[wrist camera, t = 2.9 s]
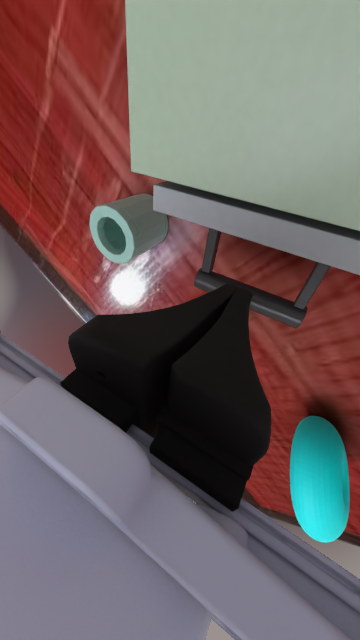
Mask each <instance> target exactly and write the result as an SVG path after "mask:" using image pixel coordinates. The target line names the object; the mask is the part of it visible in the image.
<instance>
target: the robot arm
mask: <svg viewBox="0 0 360 640" xmlns="http://www.w3.org/2000/svg"><path fill="white" fill-rule="evenodd" d="M252 298H253V294H252V292H250V291H247V290H244V289H242V288H239V287H237V286H234V285H231V284H229V283H227V284H225V285H223V286H221V287H219V288H217V289H215V290H213V291H211V292H209V293H207V294H205V295H202V296H200V297H198V298H196V299H193V300H191V301H188V302H185V303H183V304H180V305H176V306H173V307H169V308H165V309H160V310H155V311H149V312H143V313H134V314H120V315H97V316H96V317H94V318H93V319H92V320H90V321H89V322H87V323H86V324H85V325H83V326H82V327H81V328H79V329H78V330H76V331H75V332H74V333H72V334H71V335H70V336H69V343H68V344H69V348H70V352H71V354H72V357H73V360H74V363H75V366H76V369H75V370H74V371H73V372H72V373H71V374H70V375H68V376H67V377H66V378H65V377H63V376H62V375H60V374H59V373H57V372H56V371H55V370H53V369H52V368H50V367H49V366H47V365H46V364H44V363H43V362H41V361H40V360H38V359H37V358H36V357H34V356H33V355H31V354H29V353H28V352H27V351H25V350H24V349H22V348H21V347H19V346H18V345H17V344H15V343H13V342H12V341H11V340H9V339H8V338H6V337H5V336H3V335H2V334H0V640H206V636H207V633H208V629H209V625H210V622H211V619H212V620H213V621H215V622H216V623H217V624H218V625H219V626H220V627H221V628H223V629H224V630H225V631H226V632H227V633H228V634H229V635H231V636H232V637H233V638H234V639H235V640H360V579H358V578H357V577H355V576H354V575H353V574H351V573H350V572H348V571H347V570H345V569H344V568H342V567H341V566H340V565H338V564H337V563H335V562H334V561H332V560H331V559H329V558H328V557H326V556H325V555H323V554H322V553H321V552H319V551H318V550H316V549H315V548H313V547H312V546H310V545H309V544H307V543H306V542H304V541H303V540H301V539H300V538H299V537H297V536H296V535H294V534H292V533H291V532H290V531H288V530H287V529H285V528H284V527H283V526H281V525H280V524H278V523H276V522H275V521H274V520H272V519H271V518H269V517H268V516H266V515H265V514H264V513H262V512H261V511H259V510H258V509H256V508H255V507H253V506H252V505H250V504H249V503H247V502H246V501H245V500H243V499H242V495H243V492H244V488H245V485H246V482H247V480H249V478H250V476H251V472H252V469H253V465H254V464H255V463H256V462H257V461H259V460H260V459H261V458H262V457H263V456H264V455H265V454H266V452H267V450H268V447H269V443H270V434H271V407H270V405H269V403H268V400H267V398H266V396H265V394H264V391H263V389H262V386H261V383H260V381H259V378H258V375H257V372H256V368H255V364H254V361H253V357H252V352H251V347H250V340H249V327H248V319H249V307H250V303H251V300H252ZM187 496H188V497H187ZM191 499H192V500H193V501H194V502H196V504H195V503H194V502H193V501H192V500H191Z"/></svg>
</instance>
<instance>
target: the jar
mask: <svg viewBox="0 0 360 640" xmlns="http://www.w3.org/2000/svg"><path fill="white" fill-rule="evenodd" d="M89 225H90V229H91V234H92V237H93V240H94V242H95V244H96V246H97V247H98V249H99V250H100V251H101V252H102V253H103V255H104V256H105V257H106V258H107V259H109V260H111V261H113V262H114V263H123V264H124V263H127V262H129V261H130V260H132V259H134V258H135V257H137V256H139V255H141V254H142V253H144V252H146V251H147V250H149V249H151V248H153V247H154V246H156V245H157V244H159V243H160V242H162V241H163V240H164V239H165V237H166V235H167V232H168V218H167V214H164V213H160V212H157V211H154V210H153V196H151V195H149V194H145V193H144V194H138V195H133V196H130V197H127V198H123V199H120V200H116V201H113V202H110V203H106V204H103V205H99V206H97V207H96V208H95V209H94V210H93V211H92V213H91V215H90V224H89Z"/></svg>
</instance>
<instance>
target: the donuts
mask: <svg viewBox="0 0 360 640" xmlns="http://www.w3.org/2000/svg"><path fill="white" fill-rule="evenodd" d="M290 488H291V496H292V503H293V508H294V511H295V514H296V518H297V520H298V522H299V523H300V525H301V527H302V529H303V530H304V531H305V532H306V533H307V534H308V535H309V536H310V537H312V538H313V539H315V540H317V541H320V542H331V541H334V540H336V539H337V538H338V537H339V536H340V535H341V534H342V532H343V531H344V529H345V527H346V524H347V520H348V514H349V497H350V496H349V473H348V463H347V456H346V451H345V447H344V444H343V441H342V438H341V436H340V435H339V433H338V431H337V430H336V428H335V427H334V426H333V425H332V424H331V423H330V422H329V421H327V420H326V419H324V418H322V417H319V416H308V417H305V418H304V419H302V420H301V421H300V423H299V424H298V426H297V428H296V431H295V434H294V438H293V442H292V449H291V457H290Z"/></svg>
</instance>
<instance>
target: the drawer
mask: <svg viewBox="0 0 360 640" xmlns="http://www.w3.org/2000/svg"><path fill="white" fill-rule="evenodd" d="M153 210H154V211H157V212H160V213H164V214H167V215H170V216H173V217H176V218H180V219H183V220H186V221H189V222H192V223H195V224H199V225H202V226H205V227H208V228H209V233H208V239H207V244H206V249H205V254H204V260H203V265H202V268H200V270H199V271H198V273H197V274H196V277H195V280H194V286H195V287H197V288H199V289H202V290H204V291H206V292H211V291H213V290H215V289H217V288H219V287H221V286H223V285H225V284H227V283H229V284H231V285H234V286H237V287H239V288H242V289H244V290H247V291H250V292H252V294H253V298H252V300H251V303H250V307H249V309H250V310H253V311H255V312H257V313H260V314H262V315H265V316H267V317H270V318H272V319H274V320H277V321H279V322H282V323H284V324H287V325H289V326H291V327H294V328H298V327H299V326H300V324H301V323H302V321H303V319H304V317H305V315H306V312H307V307H306V305H307V304H308V302H309V300H310V299H311V297H312V296H313V294H314V292H315V291H316V289H317V287H318V286H319V284H320V283H321V281H322V279H323V278H324V276H325V275H326V273H327V271H328V270H329V268H330V266H332V267H335V268H338V269H341V270H345V271H348V272H351V273H354V274H357V275H360V231H357V230H353V229H350V228H346V227H342V226H338V225H334V224H330V223H327V222H323V221H319V220H315V219H311V218H307V217H304V216H300V215H296V214H292V213H288V212H284V211H281V210H277V209H273V208H269V207H265V206H261V205H258V204H254V203H250V202H246V201H242V200H238V199H235V198H231V197H227V196H223V195H219V194H215V193H212V192H208V191H204V190H200V189H196V188H193V187H189V186H185V185H181V184H177V183H173V182H170V181H165V182H162V183H158V184H154V188H153ZM221 232H224V233H227V234H230V235H234V236H237V237H240V238H243V239H246V240H249V241H253V242H256V243H259V244H262V245H265V246H268V247H272V248H275V249H278V250H281V251H284V252H288V253H291V254H294V255H297V256H300V257H303V258H307V259H310V260H313V261H316V262H317V263H316V264H315V266H314V268H313V270H312V272H311V273H310V275H309V277H308V279H307V280H306V282H305V284H304V286H303V288H302V289H301V291H300V293H299V295H298V296H297V298H296V300H295V302H292V301H290V300H287V299H284V298H282V297H279V296H276V295H274V294H271V293H269V292H266V291H263V290H261V289H258V288H255V287H253V286H250V285H247V284H245V283H242V282H239V281H237V280H234V279H231V278H229V277H226V276H224V275H221V274H218V273H216V272H213V271H212V270H213V266H214V261H215V257H216V253H217V248H218V244H219V239H220V235H221Z"/></svg>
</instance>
